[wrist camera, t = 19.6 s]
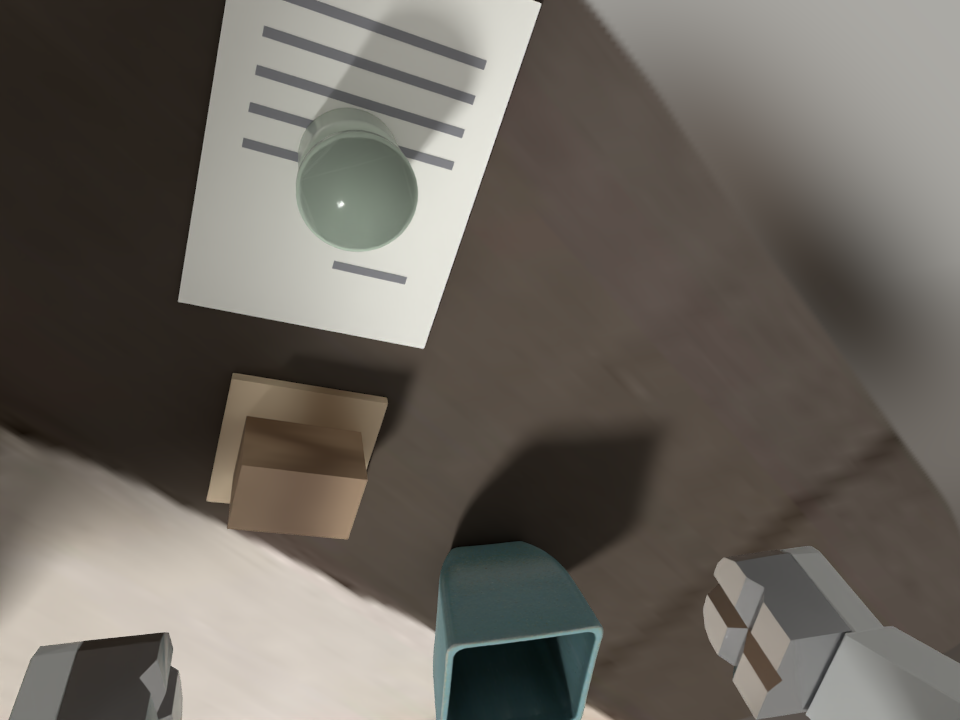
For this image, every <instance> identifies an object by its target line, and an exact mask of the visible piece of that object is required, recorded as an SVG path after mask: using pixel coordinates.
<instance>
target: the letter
mask: <svg viewBox="0 0 960 720" xmlns="http://www.w3.org/2000/svg"><path fill="white" fill-rule="evenodd" d="M540 7H541V3H539V2H536V1H534V0H226V3H225V10H224V16H223V22H222V28H221V35H220V41H219V47H218V53H217V60H216V66H215V72H214V79H213V85H212V91H211V97H210V104H209V110H208V116H207V122H206V129H205V135H204V141H203V147H202V154H201V160H200V166H199V173H198V179H197V185H196V191H195V198H194V204H193V210H192V216H191V223H190V229H189V235H188V241H187V248H186V254H185V260H184V266H183V273H182V279H181V285H180V292H179V298H178V302H181V303H187V304H192V305H197V306H202V307H208V308H213V309H218V310H223V311H229V312H234V313H239V314H244V315H250V316H255V317H260V318H265V319H270V320H276V321H281V322H286V323H291V324H297V325H302V326H307V327H312V328H318V329H323V330H328V331H333V332H338V333H344V334H349V335H354V336H359V337H365V338H370V339H375V340H380V341H386V342H391V343H396V344H401V345H407V346H412V347H417V348H422V349H424V347H425V344H426V341H427V338H428V335H429V332H430V329H431V326H432V323H433V321H434V318H435V315H436V312H437V309H438V306H439V303H440V300H441V297H442V294H443V291H444V288H445V285H446V282H447V280H448V277H449V274H450V271H451V268H452V265H453V262H454V259H455V256H456V253H457V250H458V247H459V244H460V241H461V239H462V236H463V233H464V230H465V227H466V224H467V221H468V218H469V215H470V212H471V209H472V206H473V203H474V200H475V197H476V195H477V192H478V189H479V186H480V183H481V180H482V177H483V174H484V171H485V168H486V165H487V162H488V159H489V156H490V154H491V151H492V148H493V145H494V142H495V139H496V136H497V133H498V130H499V127H500V124H501V121H502V118H503V115H504V113H505V110H506V107H507V104H508V101H509V98H510V95H511V92H512V89H513V86H514V83H515V80H516V77H517V74H518V71H519V69H520V66H521V63H522V60H523V57H524V54H525V51H526V48H527V45H528V42H529V39H530V36H531V33H532V30H533V28H534V25H535V22H536V19H537V16H538V13H539V10H540ZM338 108H356V109H361V110H364V111H367V112H369V113H371V114H373V115H375V116H376V117H377V118H379V119H380V120H381V121H382V122H383V123H385V125H386V126H387V127H388V128H389V129H390V131H391V132H392V134H393V136H394V138H395V140H396V142H397V144H398V146H399V148H400V150H401V151H402V152H403V153H404V155H405V156H406V158H407V159H408V161H409V163H410V165H411V167H412V169H413V171H414V174H415V177H416V180H417V186H418V202H417V207H416V211H415V214H414V216H413V218H412V220H411V222H410V224H409V225H408V227H407V228H406V230H405V231H404V232H403V233H402V234H401V235H400V236H399V237H398V238H396V239H395V240H394V241H392V242H391V243H389V244H387V245H385V246H383V247H381V248H378V249H375V250H371V251H364V252H351V251H345V250H341V249H338V248H335V247H333V246H330V245H328V244H327V243H325V242H323V241H322V240H321V239H319V238H318V237H317V236H316V235H315V234H314V233H312V232H311V230H310V229H309V228H308V227H307V225H306V224H305V222H304V220H303V219H302V217H301V214H300V212H299V209H298V205H297V200H296V178H297V173H298V149H299V144H300V140H301V138H302V136H303V133H304V132H305V130H306V128H307V127H308V126H309V125H310V123H311V122H312V121H314V120H315V119H316V118H317V117H319V116H320V115H321V114H323V113H325V112H327V111H330V110H333V109H338Z"/></svg>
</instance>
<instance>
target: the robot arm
mask: <svg viewBox="0 0 960 720" xmlns="http://www.w3.org/2000/svg"><path fill="white" fill-rule="evenodd" d="M714 576H715V577H716V579H717V580H718V582H719V584H718V585H717V586H716V587H715V588H714V589H712V590H711V591H710V592H709V593H708V594H707V597H706V601H705V604H704V608H703V614H704V623H705V629H706V631H707V634H708V637H709V640H710V642H711V644H712V645H713V647H714V649H715V651H716V653H717V654H718V655H719V656H720V657H722V658H723V659H725V660H726V661H728V662H729V663H730V664H732V665H733V666H734V671H733V682H734V684H735V685H736V687H737V689H738V690H739V692H740V694H741V695H742V697H743V699H744V700H745V702H746V704H747V706H748V707H749V709H750V711H751V712H752V714H753V716H754V717H755V719H763V718H769V717H776V716H782V715H788V714H795V713H801V712H807V713H806V716H808V717H809V718H810V719H811V720H960V664H959V663H958V662H956V661H954V660H952V659H950V658H949V657H947V656H945V655H943V654H941V653H940V652H938V651H936V650H934V649H933V648H931V647H929V646H927V645H925V644H924V643H922V642H920V641H918V640H916V639H915V638H913V637H911V636H909V635H907V634H906V633H904V632H902V631H900V630H899V629H897V628H895V627H893V626H888V627H883V626H882V624H881V623H880V622H879V621H878V620H877V618H876V617H875V616H874V615H873V614H872V613H871V611H870V610H869V609H868V608H867V607H866V606H865V604H864V603H863V602H862V601H861V600H860V599H859V597H858V596H857V595H856V594H855V593H854V591H853V590H852V589H851V588H850V587H849V586H848V584H847V583H846V582H845V581H844V580H843V579H842V577H841V576H840V575H839V574H838V573H837V571H836V570H835V569H834V568H833V567H832V566H831V564H830V563H829V562H828V561H827V560H826V559H825V557H824V556H823V555H822V554H821V553H820V552H819V551H818V550H816V549H815V548H813V547H811V546H806V547H798V548H791V549H783V550H771V551H765V552H758V553H751V554H744V555H737V556H731V557H724V558H723V559H722V560H721V561H720V562H719V563H718V564H717V567H716V570H715V573H714ZM172 653H173V646H172V643H171V639H170V636H169V633H166V632H164V633H155V634H145V635H136V636H126V637H117V638H108V639H98V640H89V641H82V642H73V643H65V644H56V645H48V646H40V647H39V649H38V650H37V652H36V653H35V654H34V656H33V657H32V658H31V660H30V663H29V665H28V668H27V671H26V674H25V676H24V679H23V682H22V684H21V687H20V690H19V693H18V695H17V698H16V701H15V704H14V706H13V709H12V712H11V715H10V717H9V720H182V688H181V680H180V676H179V671H178V670H177V669H175V668H174V667H172V666H170V665H171V659H172Z"/></svg>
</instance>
